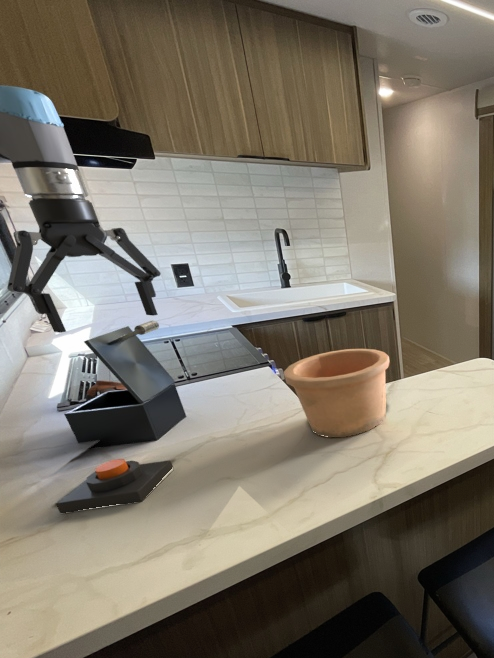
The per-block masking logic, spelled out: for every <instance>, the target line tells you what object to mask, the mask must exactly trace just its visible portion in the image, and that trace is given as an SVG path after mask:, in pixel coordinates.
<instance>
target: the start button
mask: <svg viewBox="0 0 494 658" xmlns="http://www.w3.org/2000/svg"><path fill="white" fill-rule="evenodd" d="M126 461H127V460H126V459H124V458H117V459H112V460H108V461H106V462H103V463H101V464H100V465H98V466H96V467H95V468H94V472H96V474H97V476H98V478H99V479H100V480H101V479H108V478H111V477H114V476H118V475H120V474H122V473H124V472H126V471H127V470H128V469H129V468H128V465H127V463H126Z"/></svg>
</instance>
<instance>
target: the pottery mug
mask: <svg viewBox="0 0 494 658" xmlns="http://www.w3.org/2000/svg"><path fill="white" fill-rule="evenodd" d="M125 389H126V388H125V386H124V385H123V384H122V383H121V382H120V381H119V382H117V381H111V380H96V381H95V384H94V385H92V386H90V387H89V388H88V389H87V391H86V395H85V403H86V402H88V401H90V400H92V399H93V398H95V397H97V396H99V395H101V394H103V393H105V392H107V391H116V390H125ZM98 393H99V394H98Z"/></svg>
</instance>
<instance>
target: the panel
mask: <svg viewBox="0 0 494 658" xmlns="http://www.w3.org/2000/svg"><path fill="white" fill-rule="evenodd" d="M125 461H126V463H127V465H128V468H129V469H128V470H127V471H126V472H124V473H122V474H120V475H118V476H114V477H111V478H108V479H101V480H100V479H99V478H98V476H97V474H96V472H95V471H94V472H93V473H91V474H90V475H88V476H87V477H86V479H85V480H84V481H83V482H81V483H80V484H78V485H77V486H76V487H75V488H74V489H72V490H71V491H69V492H68V493H67V494H66V495H64V496H63V497H62V498H60V499H59V500H58V501H57V502H55V503H54V504H55V506H56V509H57V510H58V512H59V514H60V513H65V514H67V513H66V512H72V513H75V512H74V511H78V510H83V509H89V508H96V507H102V506H109V505H116V504H125V505H129V504H128V503H132V504H135V503H134V502H138V503H143V501H145V500H146V499H147V497H148V496H149V495H150V494H151V493H152V492H153V491H154V490H153V488H154V487H156V485H157V484H158V483H159V482H160V481H161V480H162V478H163V477H164V476H165V475H166V474H167V473H168V472H169V471H170V470H171V469H172V467H173V468H174V465H173V463H172V461H171V460H161V461H154V462H147V463H139V461H136V460H125ZM156 488H157V487H156ZM152 490H153V491H152ZM151 491H152V492H151ZM150 492H151V493H150ZM149 493H150V494H149ZM148 494H149V495H148ZM147 495H148V496H147ZM146 496H147V497H146ZM78 512H79V511H78Z"/></svg>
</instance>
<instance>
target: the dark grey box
mask: <svg viewBox="0 0 494 658" xmlns="http://www.w3.org/2000/svg"><path fill="white" fill-rule="evenodd" d="M98 395H99V394H98ZM64 417H65V419H66V421H67V423H68V425H69V427H70V429H71V432H72V434H73V436H74V438H75V440H76V441H77V443H78V444H81V443H83V444H84V443H89V442H95V443H94V444H92V445H91V446H90V447H88V448H87V450H95V449H101V448H103V449H104V448H110V447H118V446H123V445H124V446H125V445H134V444H142V443H148V442H150V443H151V442H156V441H158V440H160V439H161V438H162V437H164V436H165V435H166V434H167V433H168V432H169V431H171V430H172V429H173V428H175V427H176V425H178V424H179V423H180V422H181V421H183V420H184V419H185V418H186V417H187V414H186V411H185V408H184V405H183V403H182V401H181V398H180V395H179V391H178V389H177V387H176V384H175V383H173V384H171V385H170V386H168V387H167V388H165V389H163V390H162V391H160V392H159V393H157V394H156V395H154V396H153V397H151V398H149V399H148V400H146V401H145V402H143V403H141V404H140V403H139V402H138V401H137V400H136V399H135V397H134V396H133V395H132V394H131V393H130V392H129V391H128V390H127V389H125V390H116V391H107V392H105V393H103V394H101V395H99V396H97V397H95V398H93V399H92V400H90V401H88V402H86V401H85V402H84V403H83V404H80V405H79V406H77V407H75V408H72V409H70V410H69V411H67V412H65V413H64Z"/></svg>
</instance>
